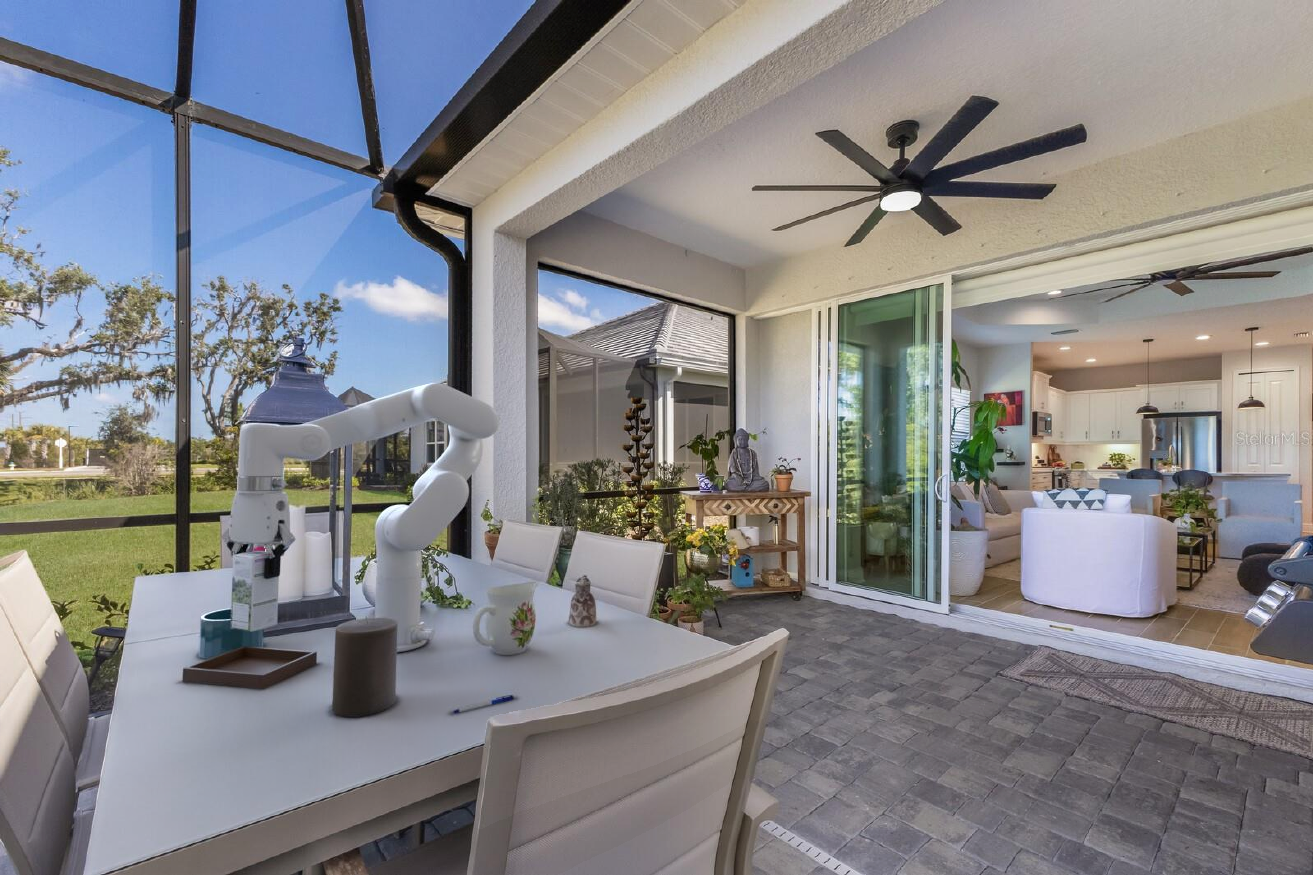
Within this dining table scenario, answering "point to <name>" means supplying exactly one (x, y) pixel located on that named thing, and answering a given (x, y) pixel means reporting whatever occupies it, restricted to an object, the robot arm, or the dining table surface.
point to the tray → (250, 667)
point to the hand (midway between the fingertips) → (256, 575)
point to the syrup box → (253, 593)
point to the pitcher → (508, 618)
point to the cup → (224, 635)
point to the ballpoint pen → (485, 703)
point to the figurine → (582, 605)
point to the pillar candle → (364, 666)
